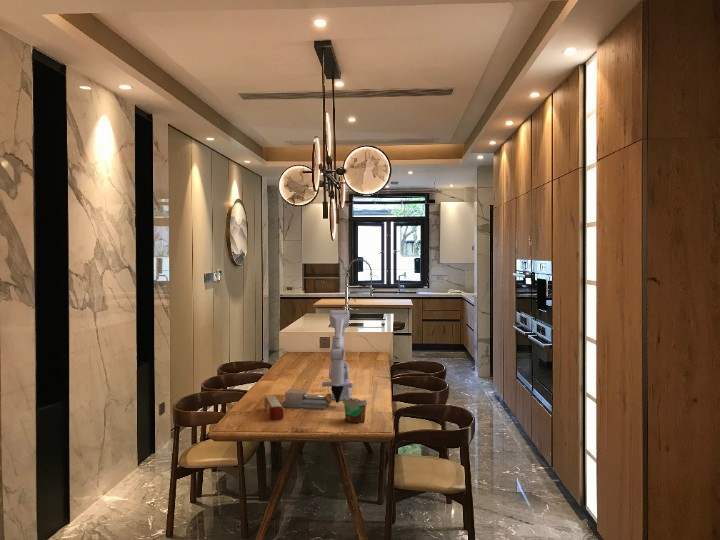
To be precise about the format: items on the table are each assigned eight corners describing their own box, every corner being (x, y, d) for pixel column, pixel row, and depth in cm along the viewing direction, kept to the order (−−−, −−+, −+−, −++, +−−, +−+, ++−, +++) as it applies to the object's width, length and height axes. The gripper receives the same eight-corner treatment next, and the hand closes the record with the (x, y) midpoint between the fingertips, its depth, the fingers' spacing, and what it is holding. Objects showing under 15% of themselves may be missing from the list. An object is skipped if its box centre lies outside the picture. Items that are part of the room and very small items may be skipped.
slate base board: (331, 402, 271) (331, 400, 271) (324, 409, 257) (324, 408, 257) (288, 399, 275) (288, 398, 275) (279, 407, 261) (278, 405, 261)
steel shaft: (331, 401, 266) (331, 392, 266) (329, 404, 262) (329, 394, 262) (299, 400, 269) (298, 391, 269) (296, 402, 265) (296, 393, 265)
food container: (336, 420, 241) (336, 397, 241) (347, 417, 245) (347, 394, 245) (356, 426, 232) (356, 402, 232) (366, 423, 237) (367, 400, 236)
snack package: (263, 409, 260) (263, 394, 259) (277, 408, 261) (277, 393, 261) (269, 422, 239) (269, 406, 239) (284, 420, 241) (284, 405, 241)
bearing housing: (306, 400, 270) (306, 389, 270) (301, 405, 262) (301, 393, 262) (290, 400, 272) (290, 388, 272) (285, 404, 264) (285, 392, 264)
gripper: (320, 374, 260) (320, 403, 261) (350, 375, 258) (350, 405, 258) (324, 371, 267) (324, 399, 268) (353, 372, 265) (353, 401, 265)
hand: (337, 402), depth 263 cm, fingers closed
